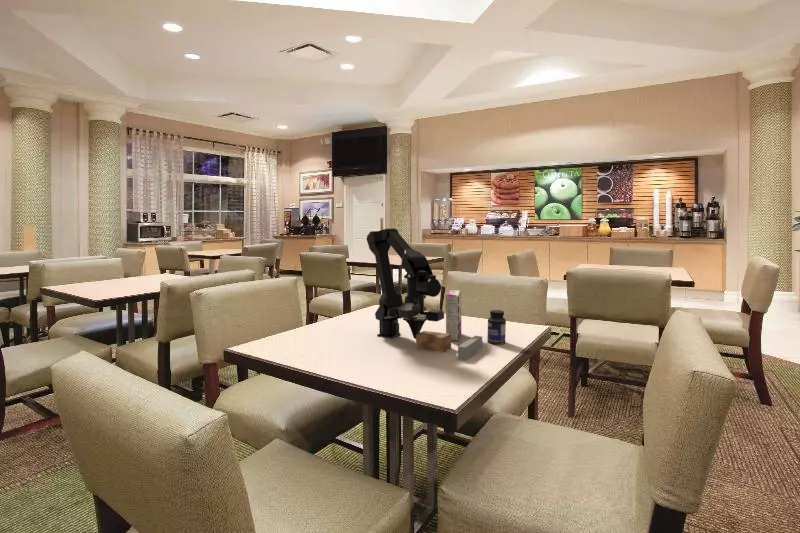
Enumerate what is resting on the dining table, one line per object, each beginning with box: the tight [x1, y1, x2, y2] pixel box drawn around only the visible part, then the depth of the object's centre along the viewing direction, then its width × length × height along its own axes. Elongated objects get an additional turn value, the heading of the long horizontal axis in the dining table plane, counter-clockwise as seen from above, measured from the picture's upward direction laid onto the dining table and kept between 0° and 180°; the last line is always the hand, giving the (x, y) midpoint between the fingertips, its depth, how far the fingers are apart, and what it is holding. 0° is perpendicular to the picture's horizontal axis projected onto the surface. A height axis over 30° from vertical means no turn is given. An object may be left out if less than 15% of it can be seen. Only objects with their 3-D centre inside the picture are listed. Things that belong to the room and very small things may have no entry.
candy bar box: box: [445, 289, 463, 342], centre depth 171 cm, size 11×5×16 cm, turn 168°
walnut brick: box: [415, 330, 452, 354], centre depth 157 cm, size 10×6×5 cm, turn 61°
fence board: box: [457, 335, 483, 361], centre depth 151 cm, size 2×15×4 cm, turn 151°
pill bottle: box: [487, 309, 507, 345], centre depth 164 cm, size 6×6×11 cm
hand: (415, 338), depth 160 cm, fingers closed
